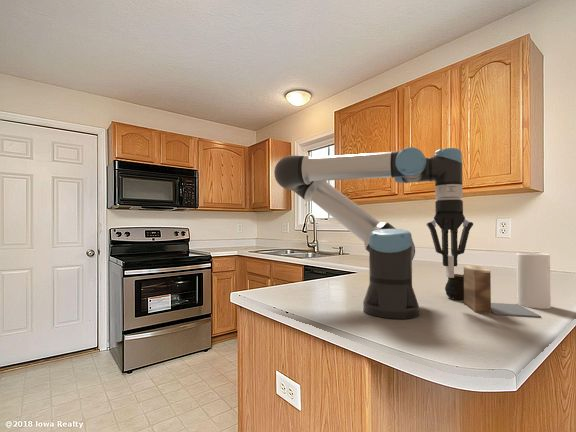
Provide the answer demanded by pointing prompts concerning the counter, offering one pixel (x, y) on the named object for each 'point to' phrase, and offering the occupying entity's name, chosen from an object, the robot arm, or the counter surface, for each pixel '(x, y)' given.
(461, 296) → the mate gourd
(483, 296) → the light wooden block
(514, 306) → the mat
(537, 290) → the cup
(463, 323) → the counter surface
